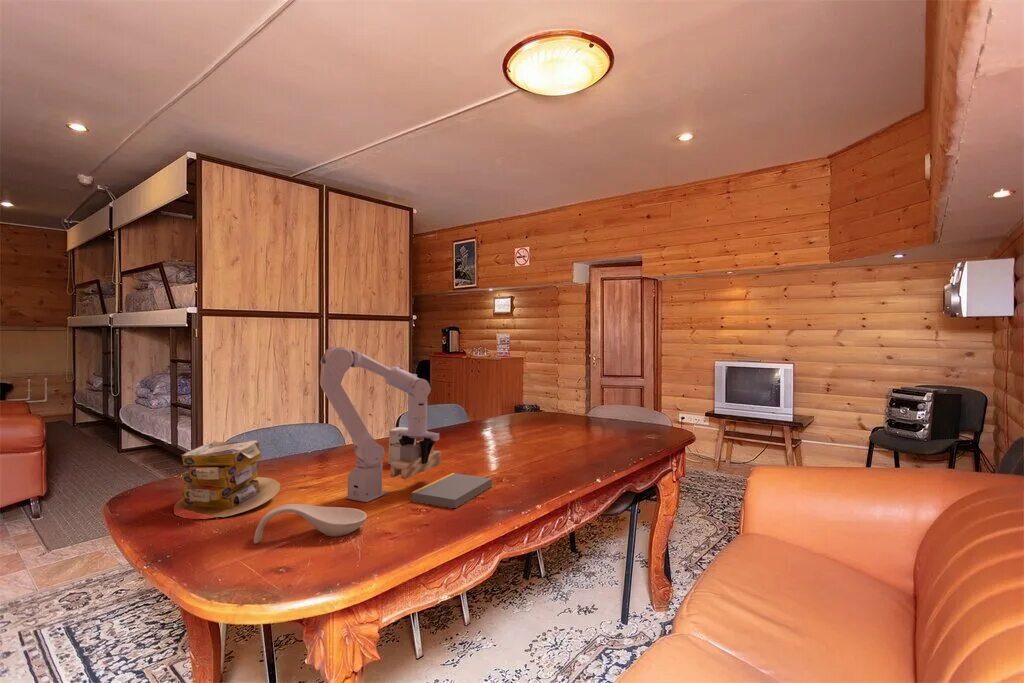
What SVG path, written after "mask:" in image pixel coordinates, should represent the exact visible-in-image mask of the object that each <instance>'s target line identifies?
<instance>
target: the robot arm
mask: <svg viewBox="0 0 1024 683" xmlns="http://www.w3.org/2000/svg"><path fill="white" fill-rule="evenodd" d="M350 368H361V369H364V370H366V371H369V372H371V373H373V374H376V375H379V376H380V377H383V378H384V381H385V383H386V384H387V385H389V386H392V387H393V388H395V389H398V390H401V391H402V392H404V393H406V394H407V395H408V400H407V401H408V403H407V405H408V406H407V428H408V430H402V429H399V430H396V437H400V436H401V437H402V438H401V439H399V442H400V444H401V446H404V445H407V444H411V445H414V441H415V438H416V439H420V440H422V441H420V440H418V441H419V443H420V447H421V461H422V464H425V463H427V462H428V458H429V454H430V451H431V449H432V447H433V445H435V443H436V442H437V441H440V432H432V431H428V396H429V394H431V390H432V387H430V383H429V382H428V380H427V379H424V378H420V377H418V374H416V373H411V372H408V371H407V370H405V367H403V366H402V365H398V366H397V365H393V366H391V367H389V366H387V365H385V364H382V363H381V362H379V361H377V360H375V359H374V358H372V357H370V356H368V355H366V354H364V353H362V352H359V351H356V350H353V349H349V348H347V347H345V346H344V347H343V346H330V347H329V348H327V349H326V350H325V351H324V353H323V356H322V357H321V360H320V376H319V377H320V378H319V384H320V388H321V389H322V391H323V392H324V394H325V397H326V398H327V399H328V402H329V403H330V404H331V406H332V408H333V409H334V411H335V412H336V415H337V416H338V418H339V420H340V421H341V422H342V424H343V427H344V428H345V431H347V433H348V435H349V437H350V438H351V442H352V444H353V447H354V454H355V456H356V457H357V458H358V459H357V461H356V463H355V467H354V468H353V469H352V470H350V471H349V472H348V476H347V495H345V497H344V498H345V499H347V500H353V501H358V502H364V503H369V502H371V501H374V500H375V499H378V498H380V497H382V496H384V495H387V494H389V491H388V490H383V461H384V459H385V456H386V452H385V448H384V447H383V445H381V444H380V443H378V442H377V441H376V440H375V438H374V437H373V435H372V434H371V433H370V432H369V430H368V429H367V427H366V425H365V423H364V422H363V420H362V419H361V417H360V414H358V411H357V409H356V408H355V406H354V405H353V403H352V401H351V399H350V397H349V396H348V394H347V392H346V390H345V389H344V388H343V385H342V381H343V379H344V377H345V374H346V373H347V372H348V370H350Z"/></svg>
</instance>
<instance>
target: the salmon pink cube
mask: <svg viewBox="0 0 1024 683" xmlns="http://www.w3.org/2000/svg"><path fill="white" fill-rule="evenodd" d="M422 440H423V439H420V440H416V445H419V455H420V456H421V447H420V443H419V441H422ZM434 445H435V444H434ZM434 445H433V447H432V449H431V451H430V454H429V455H431V454H433V453H434V451H435V450H434V449H435V448H434Z"/></svg>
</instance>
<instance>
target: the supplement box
mask: <svg viewBox="0 0 1024 683" xmlns="http://www.w3.org/2000/svg"><path fill="white" fill-rule="evenodd" d="M399 429H402V430H408V427H402V426H397V427H394V428H390V429H389V430H388V431H389V433H388V434H389V436H388V465H389V464H390V465H391V463H392V462H395V461H397V460H400V447H401V444H400V442H399V439H401V438H402V437H401V436H400V437H396V430H399ZM416 442H417V438H415V441H414V445H416Z"/></svg>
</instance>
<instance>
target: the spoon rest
mask: <svg viewBox="0 0 1024 683" xmlns="http://www.w3.org/2000/svg"><path fill="white" fill-rule="evenodd" d="M285 513H293V514H296V515H299V516H300V517H302V518H304V519H305V520H306V521H307V522H308V523H309V524H311V525H312V526H313V527H314V528H315V529H316V530H318V531H319V532H321V533H322V534H324V535H325V536H327V537H341V536H345V535H348V534H351V533H353V532H354V531H357V529H359V528H360V527H361V526H362V525H363V524H364V523H365V521H366V520H367V518H368V517H367V515H368V514H367V513H366V512H365V511H363V510H361V509H358V508H353V507H352V508H351V507H339V506H337V507H336V506H321V505H311V504H305V503H304V504H303V503H287V504H283V505H279V506H276V507H274V508H272V509H271V510H269V511H268V512H267V513H265V514H264V515H263V516H262V518H261V519H260V521H259V522H258V525H257V527H256V529H255V532H254V537H253V544H258V543H260V542H261V540H262V537H263V534H264V529H265V525H266V524H267V523H268V522H269V521H270V520H272V519H273V518H275V517H276V516H278V515H281V514H285Z"/></svg>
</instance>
